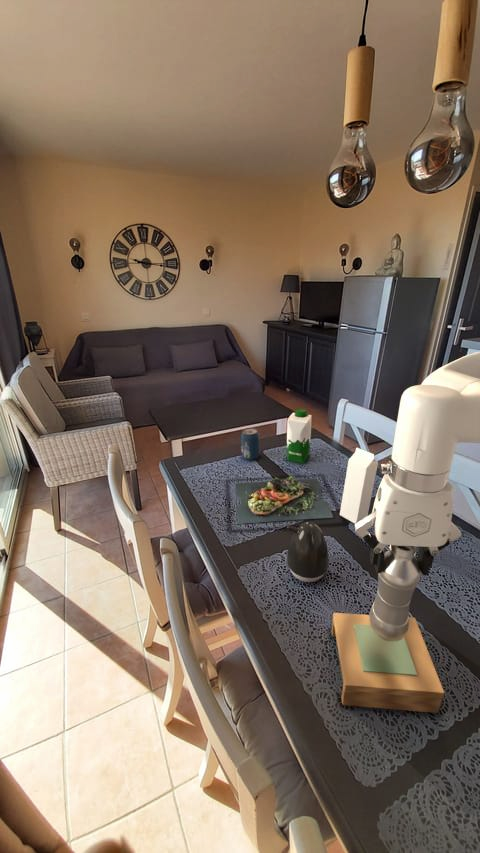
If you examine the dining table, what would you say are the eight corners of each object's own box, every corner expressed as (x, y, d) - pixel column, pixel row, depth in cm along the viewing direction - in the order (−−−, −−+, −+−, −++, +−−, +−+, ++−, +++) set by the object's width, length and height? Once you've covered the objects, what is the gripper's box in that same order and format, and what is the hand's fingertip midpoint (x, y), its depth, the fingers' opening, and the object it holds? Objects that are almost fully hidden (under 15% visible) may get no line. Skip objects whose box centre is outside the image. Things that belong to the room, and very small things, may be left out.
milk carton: (311, 455, 147) (313, 409, 138) (305, 466, 139) (308, 418, 131) (290, 451, 150) (291, 407, 142) (283, 462, 142) (285, 415, 134)
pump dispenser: (286, 556, 96) (287, 509, 90) (326, 559, 95) (330, 512, 89) (284, 586, 87) (285, 537, 81) (328, 591, 86) (333, 541, 79)
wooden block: (410, 637, 74) (415, 616, 72) (437, 714, 62) (444, 692, 59) (331, 632, 76) (333, 611, 74) (342, 706, 63) (345, 684, 61)
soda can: (258, 453, 150) (257, 426, 145) (259, 461, 143) (259, 434, 138) (241, 454, 149) (240, 427, 144) (242, 462, 143) (241, 435, 138)
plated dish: (230, 533, 105) (229, 513, 102) (226, 482, 131) (225, 464, 128) (347, 526, 107) (350, 505, 104) (320, 477, 133) (322, 459, 130)
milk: (356, 524, 106) (368, 457, 98) (339, 515, 111) (349, 449, 103) (367, 517, 110) (380, 452, 102) (350, 508, 114) (362, 444, 106)
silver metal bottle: (408, 622, 66) (429, 536, 57) (403, 654, 60) (424, 564, 52) (372, 608, 69) (386, 523, 61) (363, 637, 63) (378, 549, 55)
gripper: (360, 485, 49) (348, 583, 56) (497, 489, 47) (466, 589, 54) (350, 458, 55) (340, 548, 63) (469, 460, 54) (445, 553, 61)
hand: (399, 566), depth 58 cm, fingers closed on silver metal bottle, 6 cm apart
